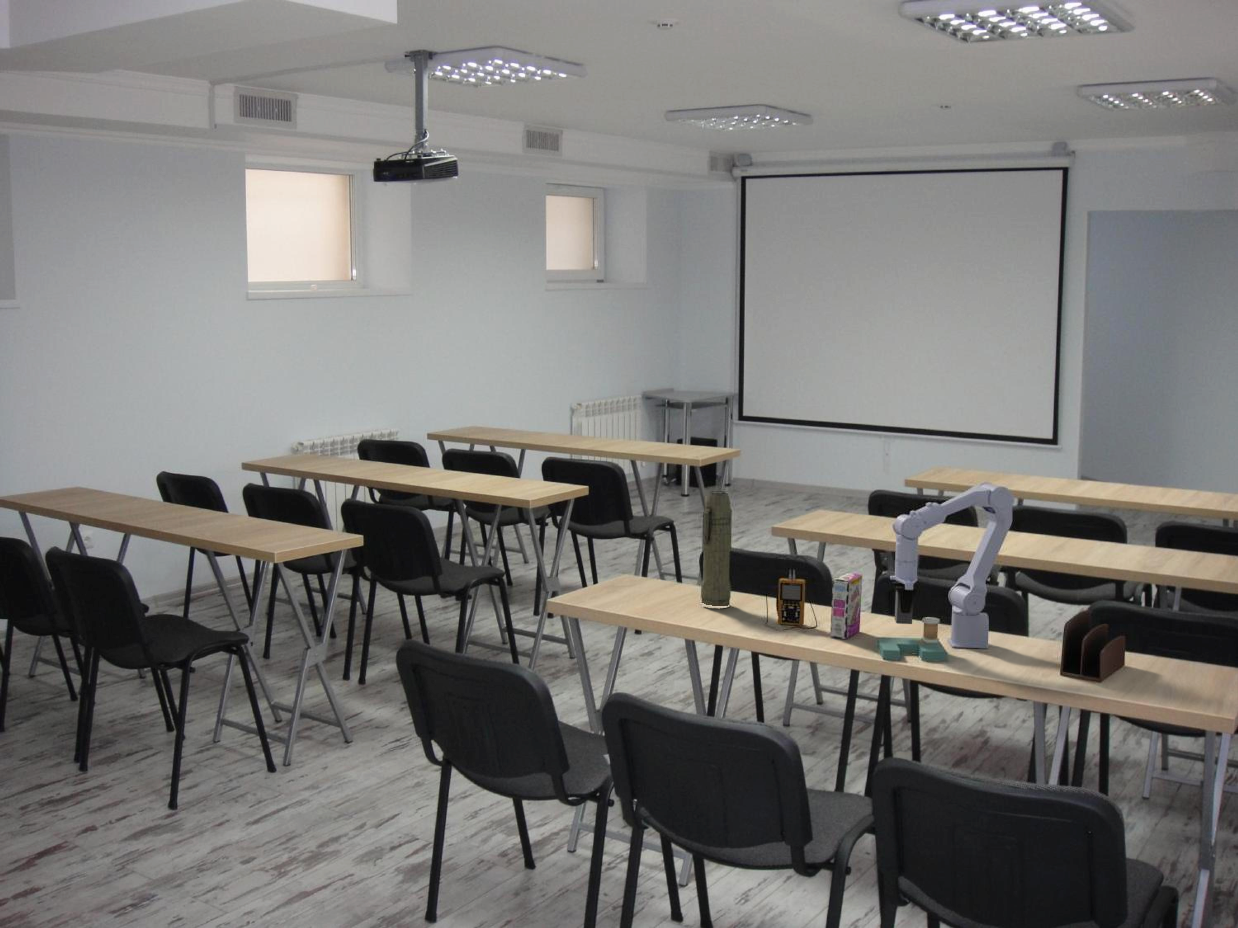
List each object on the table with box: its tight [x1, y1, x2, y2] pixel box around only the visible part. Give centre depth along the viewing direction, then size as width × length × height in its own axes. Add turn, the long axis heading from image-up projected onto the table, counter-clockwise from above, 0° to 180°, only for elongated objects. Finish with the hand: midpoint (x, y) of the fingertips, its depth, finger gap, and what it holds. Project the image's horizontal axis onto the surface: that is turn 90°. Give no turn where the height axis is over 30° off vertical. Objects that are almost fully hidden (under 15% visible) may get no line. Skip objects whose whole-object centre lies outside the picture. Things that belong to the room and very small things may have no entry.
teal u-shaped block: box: [876, 616, 948, 662], centre depth 317 cm, size 16×13×8 cm
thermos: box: [700, 490, 733, 606], centre depth 367 cm, size 9×12×35 cm
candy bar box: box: [829, 572, 863, 640], centre depth 336 cm, size 11×5×16 cm, turn 149°
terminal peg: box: [894, 590, 914, 625], centre depth 323 cm, size 4×4×8 cm
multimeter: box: [764, 555, 818, 631], centre depth 342 cm, size 15×10×20 cm
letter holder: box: [1059, 609, 1126, 684], centre depth 303 cm, size 10×20×14 cm, turn 142°
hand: (904, 610), depth 323 cm, fingers closed on terminal peg, 4 cm apart
